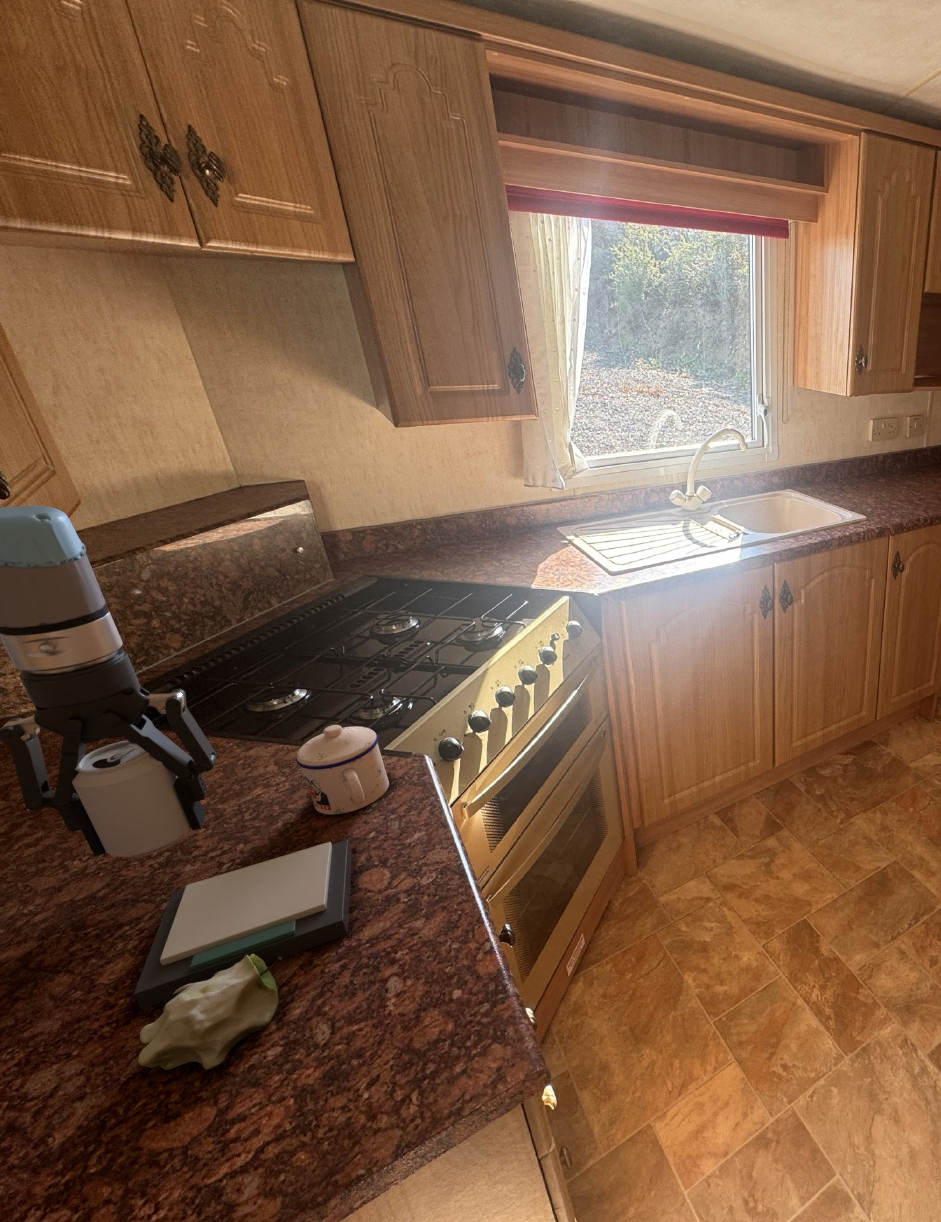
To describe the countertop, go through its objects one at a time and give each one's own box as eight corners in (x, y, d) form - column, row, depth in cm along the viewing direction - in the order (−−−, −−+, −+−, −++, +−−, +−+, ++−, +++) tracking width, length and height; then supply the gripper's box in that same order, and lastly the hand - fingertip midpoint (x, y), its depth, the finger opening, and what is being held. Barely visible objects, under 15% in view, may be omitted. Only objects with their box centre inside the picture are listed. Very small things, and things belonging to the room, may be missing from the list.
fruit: (306, 987, 65) (296, 934, 61) (248, 1090, 56) (233, 1035, 53) (197, 988, 62) (181, 934, 59) (121, 1095, 54) (97, 1039, 51)
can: (90, 855, 72) (45, 766, 67) (167, 812, 79) (131, 729, 74) (140, 869, 70) (97, 779, 66) (214, 824, 77) (180, 739, 72)
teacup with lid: (308, 798, 89) (283, 727, 85) (383, 770, 95) (363, 703, 91) (325, 842, 82) (299, 766, 77) (406, 809, 88) (385, 737, 83)
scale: (145, 1016, 60) (129, 988, 59) (181, 913, 71) (168, 887, 70) (350, 940, 68) (340, 914, 67) (354, 858, 79) (346, 834, 78)
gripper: (-104, 699, 57) (8, 891, 66) (196, 652, 68) (260, 824, 76) (-60, 665, 63) (38, 846, 72) (211, 627, 74) (268, 789, 82)
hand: (152, 834), depth 74 cm, fingers closed on can, 7 cm apart
